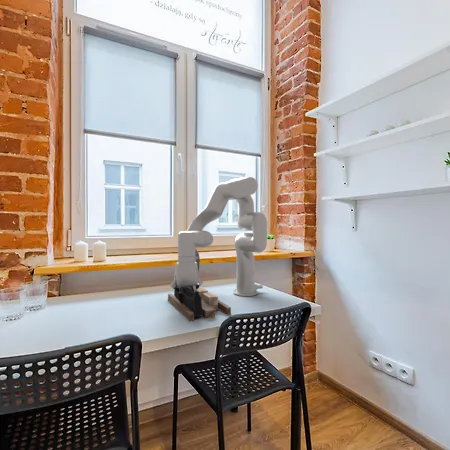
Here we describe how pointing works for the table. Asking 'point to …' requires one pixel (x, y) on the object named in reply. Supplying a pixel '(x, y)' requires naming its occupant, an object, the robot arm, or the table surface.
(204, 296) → the offcut
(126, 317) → the table surface
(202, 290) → the offcut
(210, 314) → the rack
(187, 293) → the magazine
